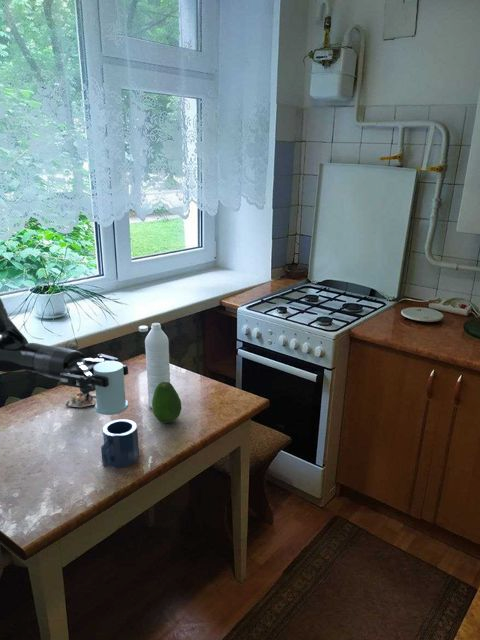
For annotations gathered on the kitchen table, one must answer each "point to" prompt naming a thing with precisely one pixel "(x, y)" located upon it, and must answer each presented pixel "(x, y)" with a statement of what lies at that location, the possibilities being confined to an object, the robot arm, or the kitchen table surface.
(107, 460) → the navy pipe fitting
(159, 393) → the avocado
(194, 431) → the kitchen table surface
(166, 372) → the water bottle
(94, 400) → the plant with pod
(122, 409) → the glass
